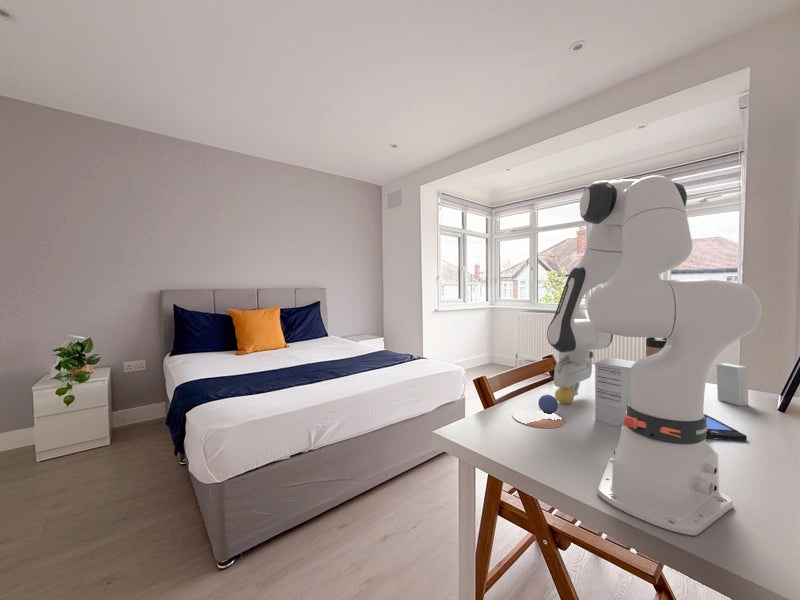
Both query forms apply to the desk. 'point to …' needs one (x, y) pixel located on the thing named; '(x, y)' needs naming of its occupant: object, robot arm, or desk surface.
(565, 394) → the ball
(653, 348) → the travel mug
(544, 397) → the ball
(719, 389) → the skincare box
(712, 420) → the handheld game console
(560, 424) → the mark
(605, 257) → the robot arm
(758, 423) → the desk surface
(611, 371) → the supplement box
